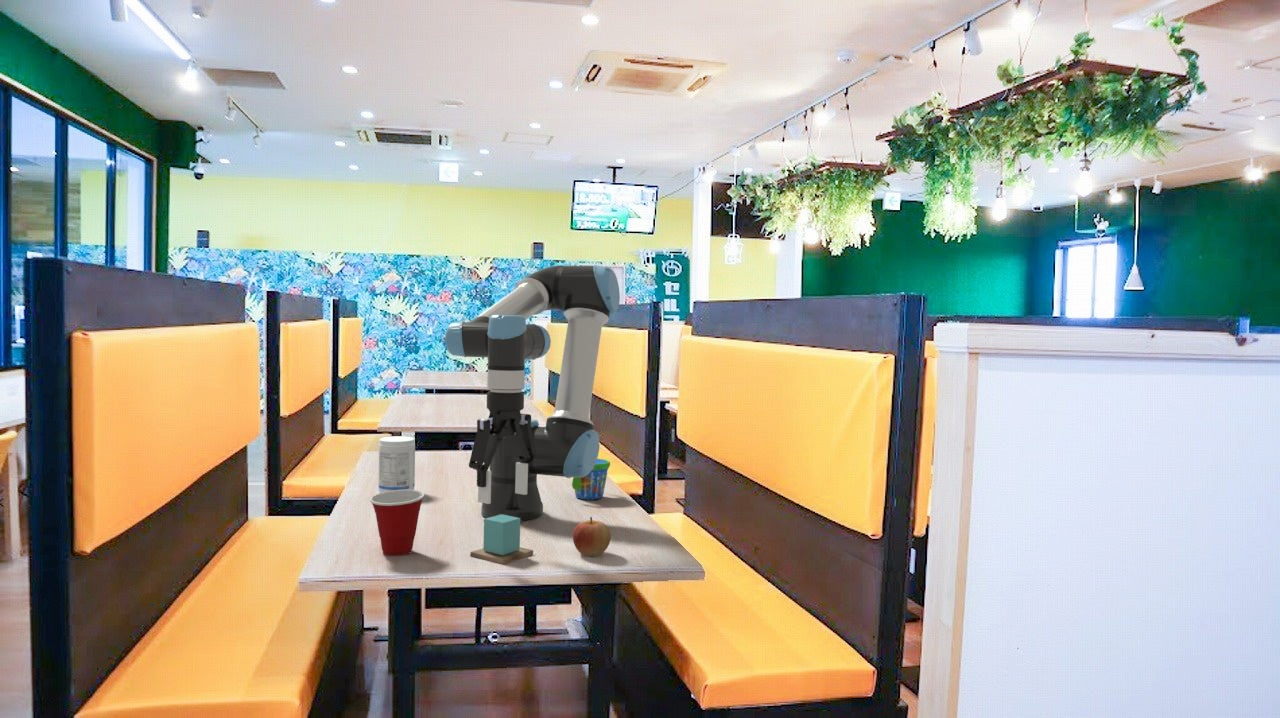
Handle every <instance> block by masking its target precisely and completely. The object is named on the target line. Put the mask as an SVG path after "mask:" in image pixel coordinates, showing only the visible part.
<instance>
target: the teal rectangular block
mask: <svg viewBox="0 0 1280 718" xmlns="http://www.w3.org/2000/svg"><path fill="white" fill-rule="evenodd" d="M520 547H521V520H520V518H517V517H512V516H507V515H503V514H501V515H497V516H493V517H489V518H486V517H485V518H484V519H483V547H482V548H483V551H486V552H491V553H495V554H499V555H505V554H508V553H511V552H514V551H517V550H520Z"/></svg>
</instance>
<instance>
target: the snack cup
mask: <svg viewBox="0 0 1280 718" xmlns="http://www.w3.org/2000/svg"><path fill="white" fill-rule="evenodd" d="M610 466H611V462H610V461H609V460H607V459H602V458H597V460H596V463H595V465H594V467H593V469H592V470H591V472H590V473H589V474H588V475H587V476H585V477H582V478H575V477H572V482H571V487H572V488H573V490H574V492H575V493H574V494H575V497H576V498H578V499H581V500H585V499H586V500H587V501H594V499H595V500H596V499H597V500H599V499H602V498H603V497H604V494H605V488H606V482H607V475H608V470H609V468H610ZM586 500H585V501H586Z"/></svg>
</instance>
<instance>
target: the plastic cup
mask: <svg viewBox="0 0 1280 718" xmlns="http://www.w3.org/2000/svg"><path fill="white" fill-rule="evenodd" d="M424 497H425V492H423V491H422V490H417V489H414V490H393V491H387V492H383V493H380V492H379V493H376V494H374V495H372V496H371V497H370V498H369V502H370V503H371V505H372V507H373V511H374V513H375V518H376V524H377V530H378V534H379V538H380V546H381V551H382V553H383V554H384V555H385V554H386V556H390V555H393V557H396V555H400V556H406V555H409V554H411V553H412V550H413V547H414V542H415V537H416V532H417V527H418V522H419V515H420V510H421V506H422V502H423V499H424ZM410 552H411V553H410ZM405 554H406V555H405ZM394 555H395V556H394Z"/></svg>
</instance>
